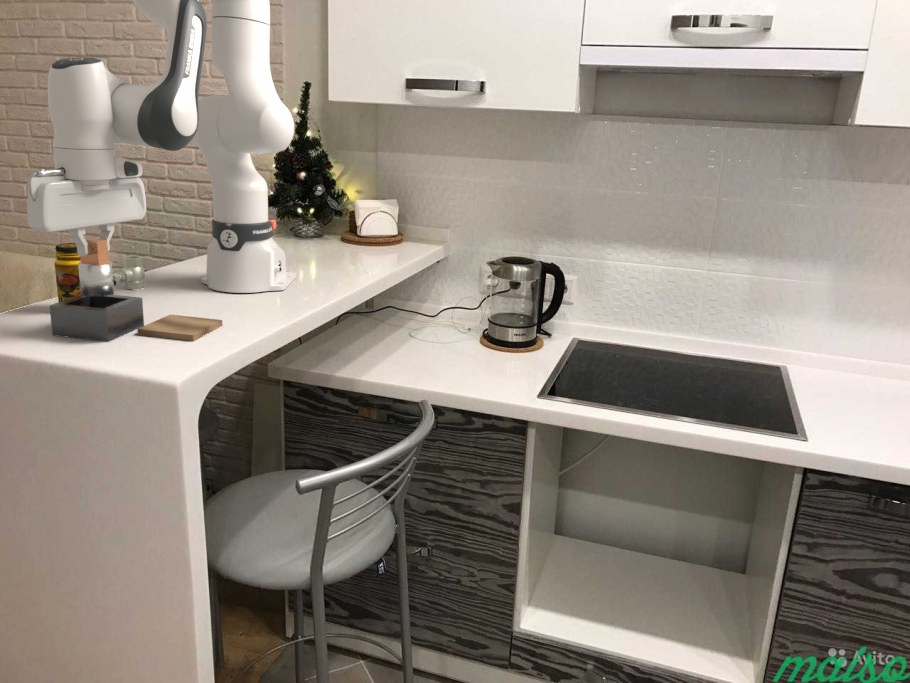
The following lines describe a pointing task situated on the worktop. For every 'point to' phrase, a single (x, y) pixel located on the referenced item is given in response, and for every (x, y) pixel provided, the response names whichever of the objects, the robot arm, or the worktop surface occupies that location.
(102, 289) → the plug
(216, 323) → the board
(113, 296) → the housing
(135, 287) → the valve
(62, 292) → the condiment
